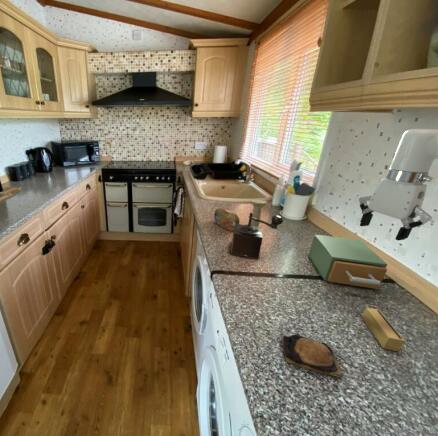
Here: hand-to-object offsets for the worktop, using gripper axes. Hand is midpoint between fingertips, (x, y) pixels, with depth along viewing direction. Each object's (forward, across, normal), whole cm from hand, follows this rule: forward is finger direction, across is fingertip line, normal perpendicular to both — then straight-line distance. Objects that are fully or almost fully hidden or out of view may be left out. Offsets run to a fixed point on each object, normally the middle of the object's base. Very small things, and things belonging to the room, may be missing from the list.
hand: (381, 232), depth 73 cm
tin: (+19, +50, +19) cm, 56 cm away
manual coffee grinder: (+18, +25, +23) cm, 39 cm away
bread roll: (+18, -17, +40) cm, 47 cm away
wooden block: (+18, -17, +18) cm, 30 cm away
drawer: (+17, +3, +3) cm, 18 cm away
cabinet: (+18, +7, +1) cm, 19 cm away
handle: (+18, +42, +10) cm, 47 cm away
